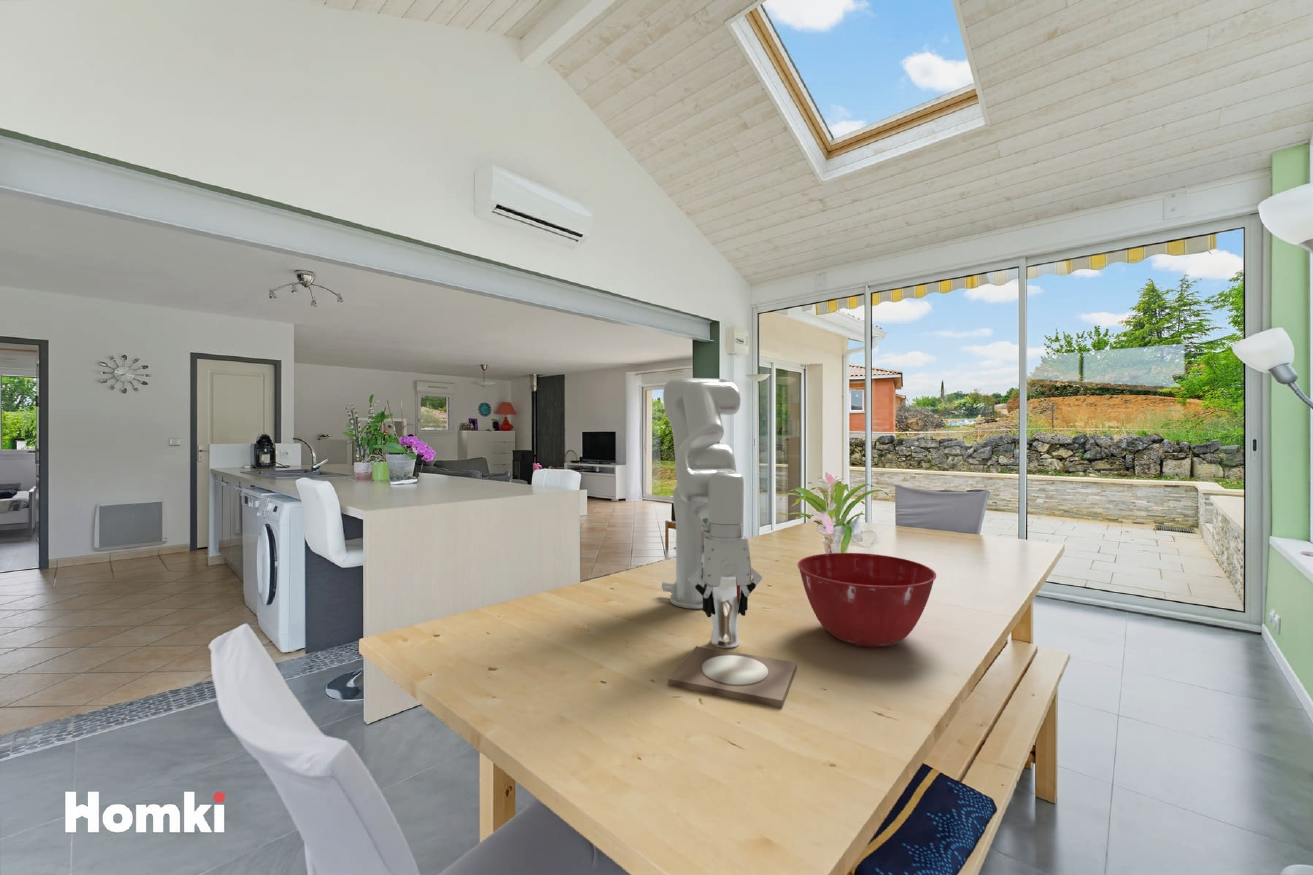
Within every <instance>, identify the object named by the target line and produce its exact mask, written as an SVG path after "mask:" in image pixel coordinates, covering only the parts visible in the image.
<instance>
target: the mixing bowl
mask: <svg viewBox="0 0 1313 875" xmlns="http://www.w3.org/2000/svg"><path fill="white" fill-rule="evenodd" d="M796 566H797V567H798V569H799V572H800V578H801V580H802V585H803V588H804V591H805V593H806V594H805V595H806V596H807V599H808V601H809V602H808V603H809V604H810V606H811V608H812V610H813V612H814V615H815V617H816V619H817V621H818V622H819V624H820V625H821V626H822V627H823V629H825V630H826V631H827V632H828V633H829V634H830V635H832V636H833V637H835V638H836V639H837V640H840V641H842V642H844V643H846V644H850V645H854V646H858V647H863V648H885V647H890V646H893V645H895V644H897V643H898V642H901V641H903V640H904V639H905V638H906V637H908V636H909V635H910V634H911V633H912V631H913V630H914V629H915V627H916V625H917V624H918V622H919V620H920V618H921V617H922V614H923V612H924V610H925V608H926V605H927V604H928V601H929V597H930V595H931V591H932V588H933V584H934V582H935V580H936V578H937V572H936V571H935V570H933V569H932V568H930V567H929V566H926V565H925V564H922V563H919V562H917V561H913V560H910V559H905V558H903V557H902V558H901V557H896V556H890V555H883V554H874V553H861V552H832V553H831V552H829V553H828V552H827V553H819V554H814V555H810V556H805V557H803V558H802V559H800V560H799V561H797V564H796Z"/></svg>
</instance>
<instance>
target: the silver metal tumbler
mask: <svg viewBox="0 0 1313 875" xmlns="http://www.w3.org/2000/svg"><path fill="white" fill-rule="evenodd" d="M741 597H742V589H741V586H738V585H737V581H736V576H721V582H720V586H718V587H712V591H711V593H710V598H711V599H712V611H711V622H712V630H711V631H712V632H711V637H710V643H711V645H712V646H714V647H717V648H719V649H732V648H737V647H738V646H740V637H739V630H738V624H739V616H740V613H739V612H740V606H741Z"/></svg>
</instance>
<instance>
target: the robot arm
mask: <svg viewBox="0 0 1313 875" xmlns="http://www.w3.org/2000/svg"><path fill="white" fill-rule="evenodd" d="M662 391H663V392H662V394H663V395H662V396H663V397H662V398H663V405H664V411H665V414H666V416H667V417H666V418H667V419H668V422H669V424H670V427H671V430H672V436H673V447H674V448H673V450H674V461H675V462H674V463H675V464H674V465H675V467H674V468H675V477H676V478H675V479H676V484H677V486H675V487H674V490H673V492H672V502H673V510H674V518H675V535H676V536H675V548H676V549H675V582H674V581H673V583H671V582H667V581H663V582H661V589H662V591H663V592H667V593H668V592H670V593H671V594H670V596H669V602H670V603H671V604H672V605H674V606H676V607H679V608H684V609H692V610H694V609H695V610H696V609H697V610H698V609H699V610H700V609H702V611H703V612H704V614H705V615H706V616H707V618H712V616H711V611H712V599H711V598H710V593H711V591H712V587H718V586H720V582H721V576H736V581H737V585H738V586H741V589H742V597H741V606H740V612H739V615H741V616H742V617H745V616H746V611H748V610H749V608H748V602H749V601H748V600H749V599H748V598H749V597H750V595H751V593H752V592H753V591H754V590H755V589H756V586H757V585H759V583H760V582H761V581H762V580H763V576H762V575H761V574H760V573H759V572H757V571H756V570H755V569H754V568H753V567H752V564H751V563H752V562H751V552H750V545H749V540H748V537H747V536H745V535H744V511H745V510H744V492H745V491H744V490H745V486H744V483H745V481H744V480H745V479H744V477H743V475H742V474H741V473H738V472H737V465H736V459H735V454H734V451H733V449H732V448H731V447H730V445H728V444H726V443H721V442H720V441H721V440H722V439H723V437H724V434H725V430H724V424H723V421H722V420H723V419H722V417H721V416H724V415H725V416H726V415H727V416H733V415H735V414H737V413H738V411H739V410H740V407H741V394H740V393H741V392H740V391H739V388H738V387H737V385H736V383H734V382H733V381H730V380H727V379H723V378H712V377H711V378H710V377H709V378H703V377H702V378H701V377H679V378H673V379H670V380H668V381H667V382H666V383H665V385H664V387H663V390H662ZM719 442H720V443H719ZM704 519H707V521H706V524H705V522H704Z"/></svg>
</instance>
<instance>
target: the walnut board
mask: <svg viewBox="0 0 1313 875" xmlns="http://www.w3.org/2000/svg"><path fill="white" fill-rule="evenodd" d="M797 666H798V663H797V662H796V661H790V660H785V659H784V660H783V659H779V658H773V657H772V658H771V657H766V656H759V655H752V654H748V653H743V652H742V653H740V652H735V651H734V652H733V651H729V650H728V651H727V650H722V649H715V648H709V647H703V646H697V645H696V646H695V648H693V650H692V651H691V652H690V653H689V654H688V655H687V656H686V657H685V659H684V660H683V661H682V662H681V663H680V664H679V666H678V667H677V668H676V669H675V671H673V673H672V674H671V675H670V676H669V677H668V678H667V685H668V687H669V686H670V687H674V688H677V689H678V688H679V689H684V690H688V691H689V690H690V691H694V692H700V693H704V694H709V695H715V696H719V697H720V696H721V697H724V698H731V699H735V700H741V701H746V702H750V703H756V704H761V705H766V706H770V707H771V706H772V707H776V708H780V709H782V708H783V707H784V705H785V701H786V699H787V696H788V693H789V690H790V688H791V685H792V683H793V680H794V677H795V675H796V672H797V668H798V667H797Z"/></svg>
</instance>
